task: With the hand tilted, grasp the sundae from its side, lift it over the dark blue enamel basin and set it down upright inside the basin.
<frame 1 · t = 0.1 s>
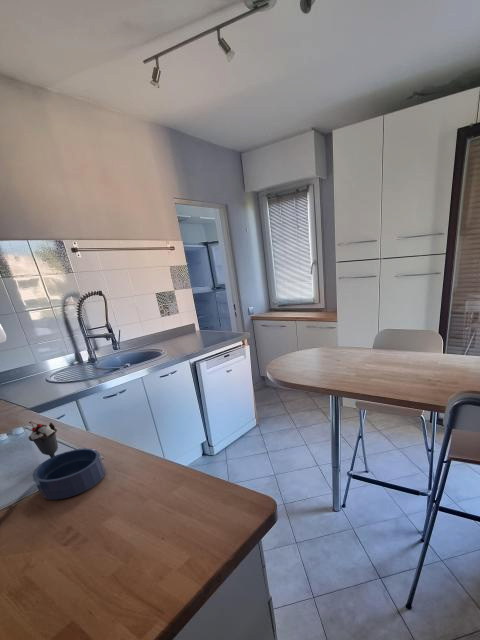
basin: (75, 482, 88), on the counter
sundae: (56, 464, 97), on the counter
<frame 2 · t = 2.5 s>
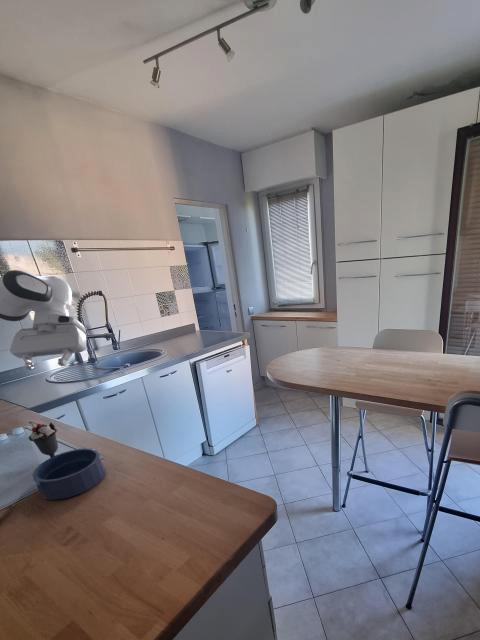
hand: (45, 367, 97), 26 cm above the counter, tool tilted 45°, fingers open, 8 cm apart
nothing on the counter moved.
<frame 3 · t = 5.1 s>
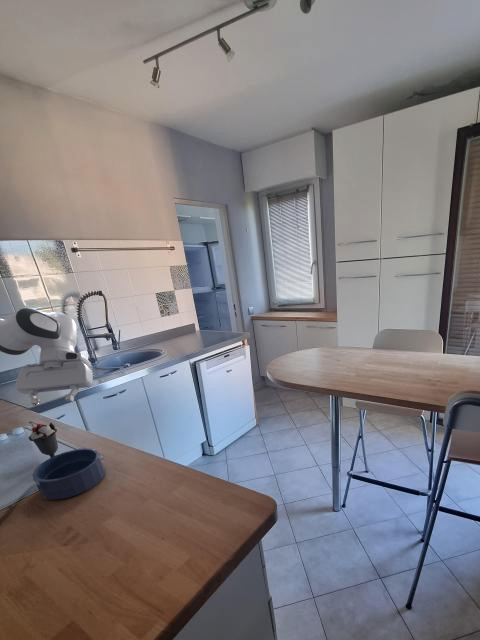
hand: (52, 402, 99), 16 cm above the counter, tool tilted 45°, fingers open, 8 cm apart
nothing on the counter moved.
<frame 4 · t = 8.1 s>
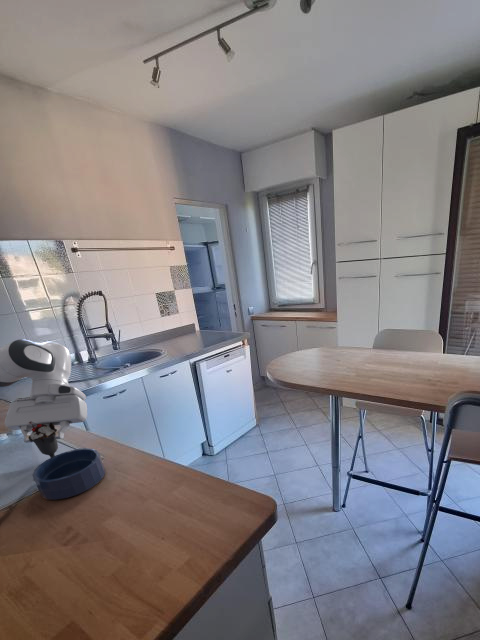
hand: (44, 440, 93), 8 cm above the counter, tool tilted 45°, fingers closed on sundae, 6 cm apart
sundae: (56, 464, 97), on the counter, touching gripper
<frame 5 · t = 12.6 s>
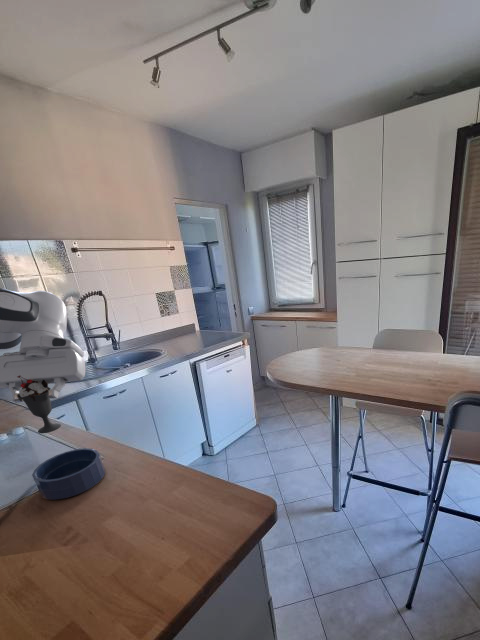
hand: (35, 399, 80), 23 cm above the counter, tool tilted 45°, fingers closed on sundae, 6 cm apart
sundae: (49, 429, 84), point 15 cm above the counter, touching gripper
when the fingers open (9 cm above the counter, at t = 17.5 s): sundae stays where it is, resting on basin.
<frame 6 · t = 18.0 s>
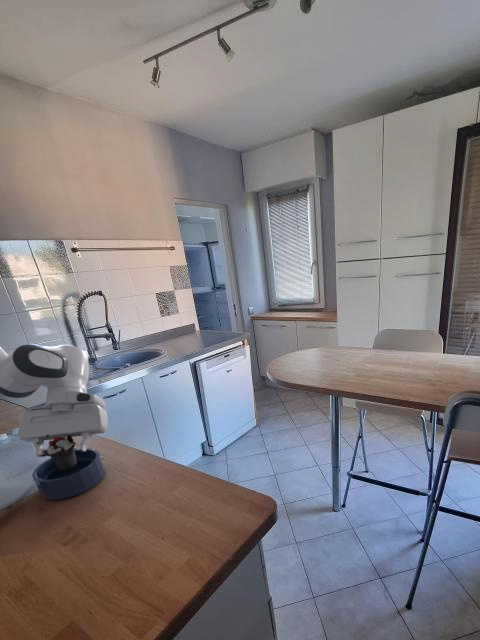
hand: (61, 453, 84), 9 cm above the counter, tool tilted 45°, fingers open, 8 cm apart
sundae: (74, 481, 88), resting on basin
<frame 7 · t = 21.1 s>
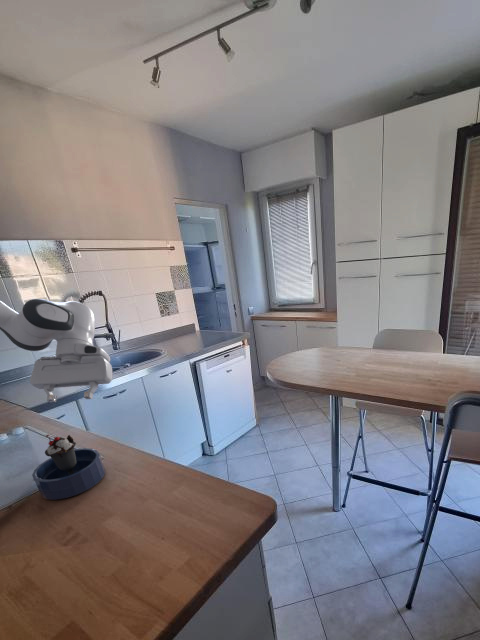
hand: (70, 400, 92), 19 cm above the counter, tool tilted 40°, fingers open, 8 cm apart
nothing on the counter moved.
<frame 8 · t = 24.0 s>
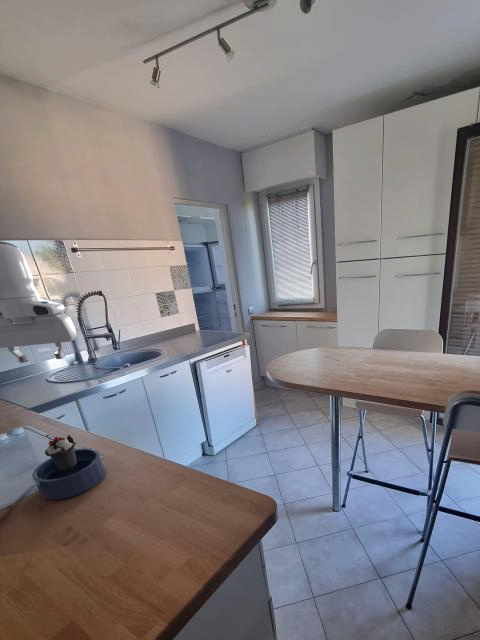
hand: (42, 360, 92), 29 cm above the counter, tool pointing down, fingers open, 8 cm apart
nothing on the counter moved.
at the end: sundae inside the target area in the basin (0.0 cm from its centre), point 0.4 cm above the basin's base; sundae tilted 0°; the gripper is holding nothing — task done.
